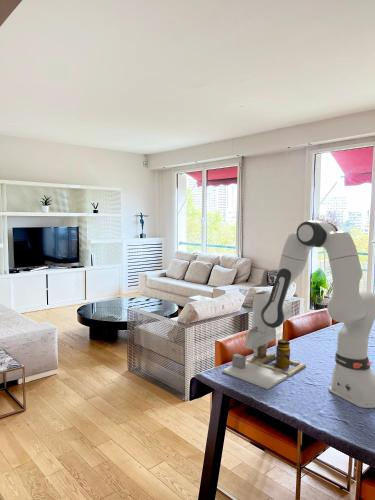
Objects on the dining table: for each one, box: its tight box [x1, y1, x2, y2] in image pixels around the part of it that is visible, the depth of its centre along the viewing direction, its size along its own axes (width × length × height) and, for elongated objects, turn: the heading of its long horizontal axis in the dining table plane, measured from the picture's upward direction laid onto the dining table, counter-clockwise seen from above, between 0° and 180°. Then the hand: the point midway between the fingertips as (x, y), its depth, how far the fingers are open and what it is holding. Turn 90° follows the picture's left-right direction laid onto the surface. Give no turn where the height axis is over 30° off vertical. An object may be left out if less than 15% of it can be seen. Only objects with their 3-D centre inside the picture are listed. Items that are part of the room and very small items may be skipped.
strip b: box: [222, 353, 288, 390], centre depth 163 cm, size 22×15×6 cm, turn 46°
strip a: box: [246, 345, 307, 377], centre depth 176 cm, size 22×15×6 cm, turn 46°
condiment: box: [268, 338, 293, 370], centre depth 173 cm, size 7×8×12 cm
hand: (260, 353), depth 181 cm, fingers open, 5 cm apart
